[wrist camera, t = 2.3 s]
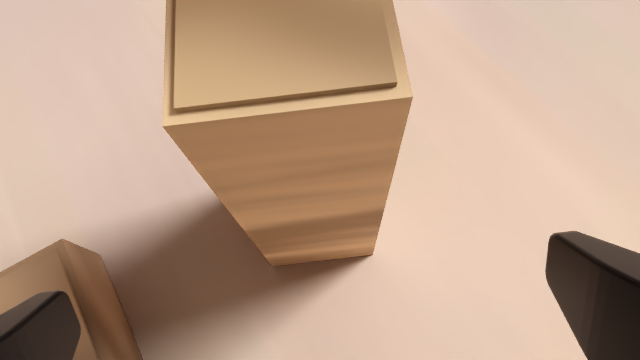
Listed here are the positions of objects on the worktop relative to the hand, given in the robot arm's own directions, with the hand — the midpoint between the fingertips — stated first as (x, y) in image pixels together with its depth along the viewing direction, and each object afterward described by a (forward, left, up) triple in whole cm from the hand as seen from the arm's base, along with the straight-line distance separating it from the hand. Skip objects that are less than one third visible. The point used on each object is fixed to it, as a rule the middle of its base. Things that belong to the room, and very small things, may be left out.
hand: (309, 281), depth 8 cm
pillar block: (+5, -2, -11) cm, 13 cm away
